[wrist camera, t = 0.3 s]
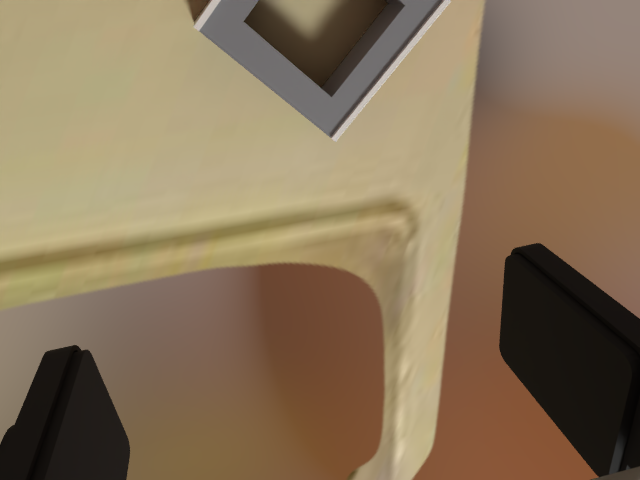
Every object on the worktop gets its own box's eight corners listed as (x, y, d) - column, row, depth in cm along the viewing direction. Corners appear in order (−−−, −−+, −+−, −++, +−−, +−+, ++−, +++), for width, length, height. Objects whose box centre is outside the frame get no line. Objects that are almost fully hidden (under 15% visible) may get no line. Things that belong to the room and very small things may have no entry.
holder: (304, -138, 32) (316, -152, 28) (428, -1, 37) (451, 1, 34) (193, 22, 34) (193, 26, 31) (324, 128, 40) (335, 141, 36)
